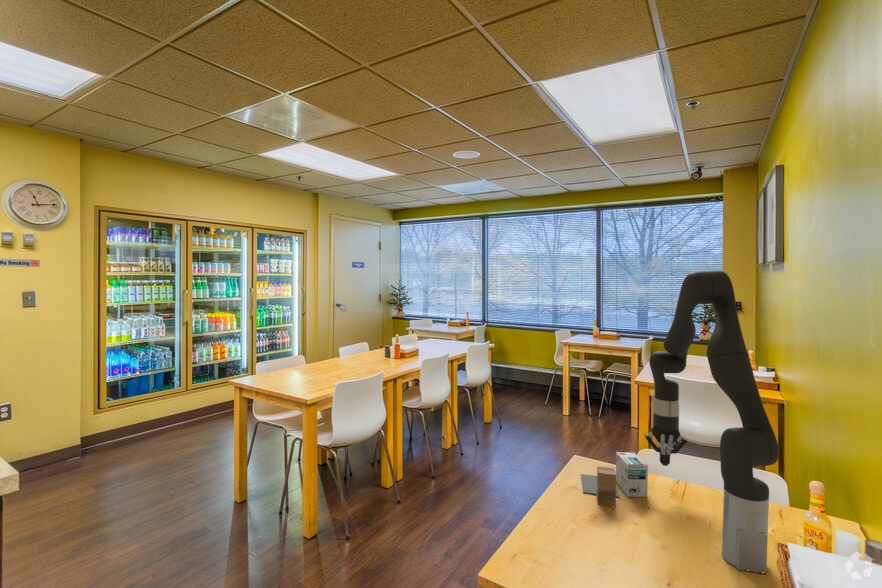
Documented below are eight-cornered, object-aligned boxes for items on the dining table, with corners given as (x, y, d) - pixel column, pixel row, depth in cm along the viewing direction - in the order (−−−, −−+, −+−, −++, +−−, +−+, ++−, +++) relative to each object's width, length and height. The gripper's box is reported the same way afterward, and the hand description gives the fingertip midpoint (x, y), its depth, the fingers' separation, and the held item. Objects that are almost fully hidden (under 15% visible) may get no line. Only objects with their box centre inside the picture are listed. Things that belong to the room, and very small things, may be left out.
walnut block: (615, 506, 135) (616, 474, 135) (598, 504, 136) (598, 472, 136) (613, 499, 140) (614, 468, 139) (596, 497, 141) (597, 466, 141)
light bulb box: (648, 497, 141) (649, 464, 141) (627, 497, 141) (627, 464, 141) (634, 482, 152) (634, 451, 151) (614, 482, 152) (615, 451, 151)
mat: (619, 497, 141) (619, 496, 141) (583, 493, 143) (583, 491, 143) (613, 478, 154) (613, 477, 154) (580, 475, 157) (580, 474, 157)
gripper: (646, 413, 141) (644, 467, 142) (691, 417, 138) (690, 472, 138) (641, 407, 148) (640, 458, 149) (685, 410, 145) (683, 462, 145)
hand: (664, 464), depth 144 cm, fingers closed
